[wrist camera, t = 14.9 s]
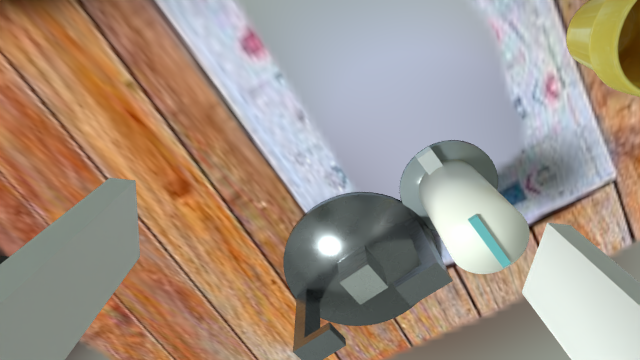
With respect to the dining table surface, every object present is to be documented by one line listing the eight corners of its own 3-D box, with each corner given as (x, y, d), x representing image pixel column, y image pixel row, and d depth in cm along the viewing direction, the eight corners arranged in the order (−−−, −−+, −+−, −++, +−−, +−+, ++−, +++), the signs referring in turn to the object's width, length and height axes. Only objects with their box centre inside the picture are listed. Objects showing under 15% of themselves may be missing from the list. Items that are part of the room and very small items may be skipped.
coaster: (463, 120, 44) (466, 122, 43) (512, 192, 47) (515, 195, 47) (380, 178, 46) (381, 181, 46) (432, 243, 50) (434, 247, 49)
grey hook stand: (377, 160, 46) (394, 198, 36) (464, 271, 51) (497, 329, 42) (252, 251, 50) (237, 306, 41) (344, 343, 56) (350, 410, 46)
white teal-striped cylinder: (395, 169, 45) (420, 219, 34) (448, 131, 44) (493, 171, 33) (449, 239, 49) (488, 305, 38) (500, 206, 47) (557, 265, 36)
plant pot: (662, -36, 38) (768, -51, 29) (643, 75, 42) (732, 91, 33) (551, -20, 39) (623, -30, 30) (543, 88, 43) (604, 108, 34)
